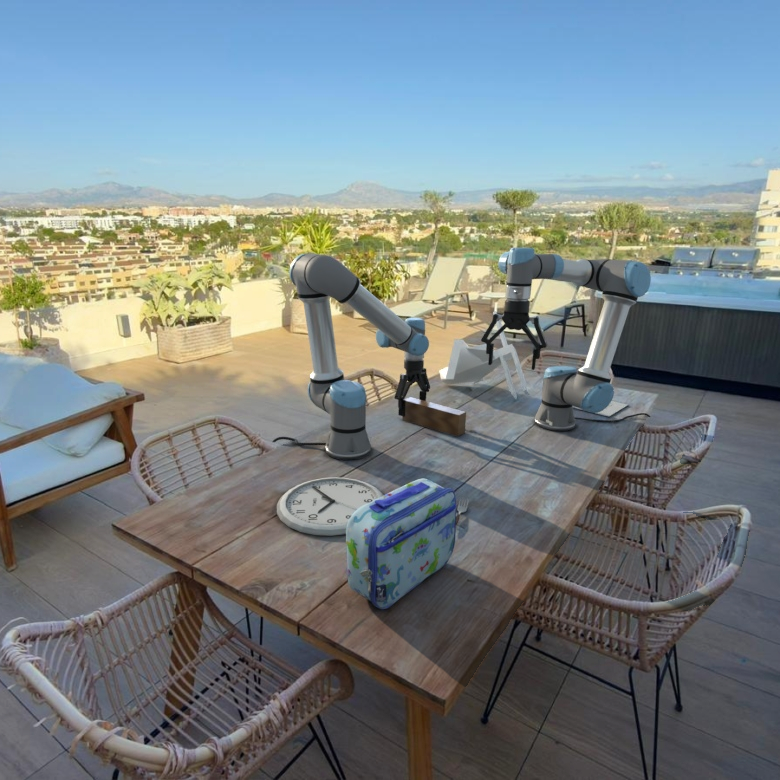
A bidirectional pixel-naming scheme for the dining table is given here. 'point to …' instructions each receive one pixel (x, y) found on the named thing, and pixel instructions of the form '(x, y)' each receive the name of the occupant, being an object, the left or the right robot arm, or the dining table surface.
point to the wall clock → (324, 504)
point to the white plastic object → (481, 363)
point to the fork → (461, 509)
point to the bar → (435, 416)
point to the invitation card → (610, 408)
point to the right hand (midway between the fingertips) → (511, 366)
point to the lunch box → (400, 540)
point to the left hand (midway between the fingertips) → (412, 411)
